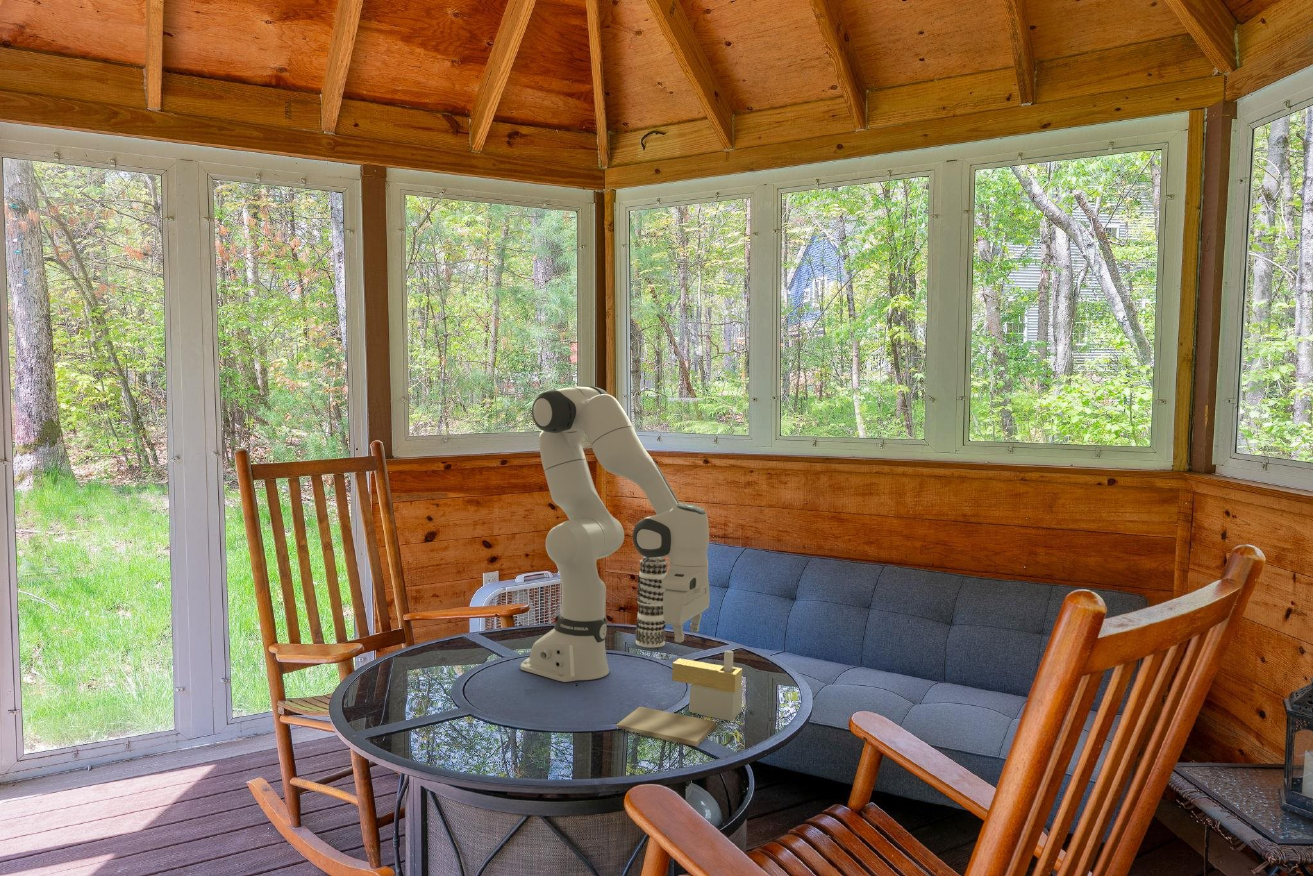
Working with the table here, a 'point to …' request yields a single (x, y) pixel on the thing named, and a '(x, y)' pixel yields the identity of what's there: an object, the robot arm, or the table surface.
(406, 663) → the table surface
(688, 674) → the brass hook bar
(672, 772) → the table surface
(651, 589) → the decorative candle
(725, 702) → the peg block
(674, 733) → the birch pad
